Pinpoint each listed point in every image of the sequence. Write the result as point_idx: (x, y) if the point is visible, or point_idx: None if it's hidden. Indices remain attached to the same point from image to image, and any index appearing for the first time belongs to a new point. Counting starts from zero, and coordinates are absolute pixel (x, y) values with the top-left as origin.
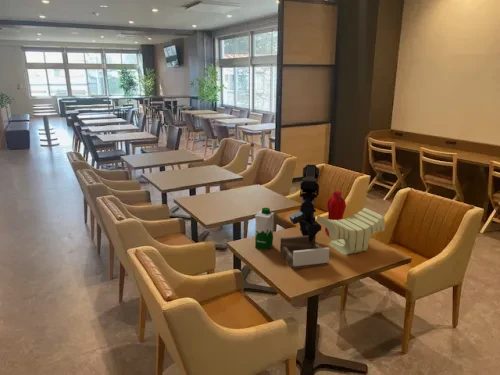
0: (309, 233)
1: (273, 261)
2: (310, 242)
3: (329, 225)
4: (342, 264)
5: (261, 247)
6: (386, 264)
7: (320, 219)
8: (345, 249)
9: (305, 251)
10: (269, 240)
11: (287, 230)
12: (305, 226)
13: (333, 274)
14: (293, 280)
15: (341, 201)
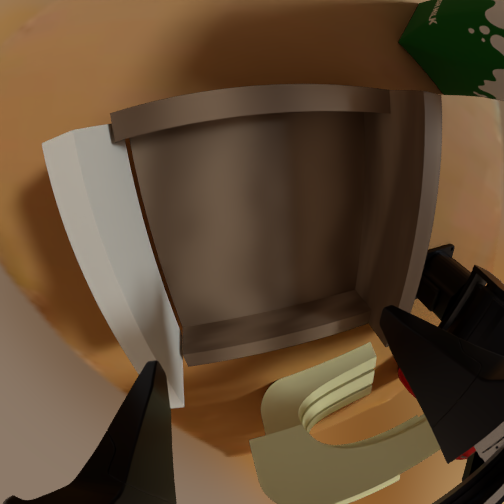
0: (75, 478)
1: (252, 16)
2: (372, 298)
3: (335, 482)
4: (190, 369)
5: (414, 17)
6: (198, 439)
7: (432, 437)
8: (287, 398)
9: (80, 263)
10: (446, 49)
11: (499, 211)
12: (425, 395)
13: (93, 325)
14: (13, 127)
15: (459, 457)
